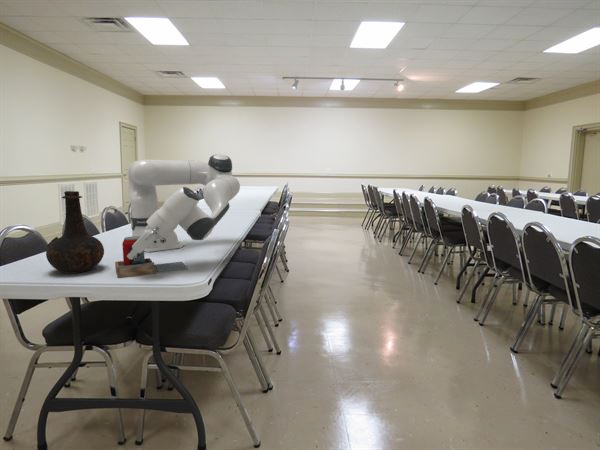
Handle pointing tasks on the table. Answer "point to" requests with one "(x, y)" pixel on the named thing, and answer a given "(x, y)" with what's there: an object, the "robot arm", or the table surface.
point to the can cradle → (134, 268)
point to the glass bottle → (74, 241)
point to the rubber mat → (170, 266)
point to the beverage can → (127, 249)
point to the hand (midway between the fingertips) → (131, 254)
